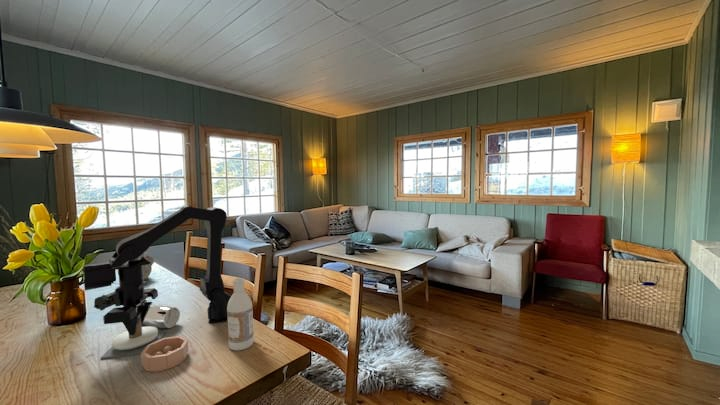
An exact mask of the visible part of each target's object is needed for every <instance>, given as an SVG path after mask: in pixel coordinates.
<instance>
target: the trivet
mask: <svg viewBox="0 0 720 405" xmlns="http://www.w3.org/2000/svg"><path fill="white" fill-rule="evenodd" d="M166 334H167V330H161V331H159V330H158V335H157V337H156V338H155V339H154V340H152V341H151V342H149V343H147V344H144V345H142V346H139V347H136V348H132V349H126V350H117V349H114V348H113V347H112V346H111V347H110V348H109V349H108V350H107V351H106V352H105V353H104V354H103V355H102V356H100V360H106V359H113V358H114V359H115V358H121V357H122V358H123V357H129V356H137V355H139V356H140V355H141V352H142V351H143V350H144V349H145V348H146V347H147V345H149V344H151V343H153V342H156V341H158V340H160V339H163V338H164V336H165V335H166Z"/></svg>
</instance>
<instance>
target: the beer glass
mask: <svg viewBox="0 0 720 405" xmlns="http://www.w3.org/2000/svg"><path fill="white" fill-rule="evenodd" d="M180 317H181V311H180V309H179V308H178V307H177V306H176V307H175V306H171V305H170V306H169V305H156V306H155V305H154V306H150V308H149V310H148V312H147V315H146V317H145V319H144V322H143V324H142V325H145V326H151V327H156V328H157V329H171V328H174V327H175V326H177V324H178V322H179V320H180Z"/></svg>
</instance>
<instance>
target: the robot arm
mask: <svg viewBox="0 0 720 405" xmlns="http://www.w3.org/2000/svg"><path fill="white" fill-rule="evenodd" d="M227 218H228V216H227V212H226V211H225V210H224V209H222V208H220V207H214V206H212V207H208V208H202V207H200V208H199V207H194V206H190V205H184V206H182V207H181V208H179V210H176V211H175V212H174V213H171V214H169V216H167V217H165V218H164V219H162V220H161V221H158V222H157V223H156V224H154V225H152V226H151V227H149V228H148V229H146V230H143V231H141V232H138V233H135V234H132V235H131V236H128V237H126V238H123V239H121V240H120V241H118V242H117V244H116V246H115V252H114V253H113V254H112V256H110V258H109V260H108V262H101V263H95V264H94V263H93V264H91V263H90V264H84V265H83V271H84V272H83V273H84V275H83V284H84V285H83V286H84V291H85V292H86V291H89V290H95V289H100V288H106V287H109V286H110V287H111V286H112V284H114V283H115V282H117V275H116V274H118V273H119V275H118V283H119V284H118V285H119V286H118V287H116V288H115V290H114V291H112V292H110V293H107V294H103V295H100V296H97V297H96V298H94V302H93V307H94V308H96V310H99V311H104V310H106V309H107V308H110V307H112V306H114V305H115V307H113V308H112V309H110V310H109V311H108V312H107V313H106V314H104V315H103V318H102V320H103V324H104V325H108V324H119V323H122V324H123V325H124V327H125V330H126V331H128V332H129V334H130V335H134V334H135V332H136V329H137V326H138V322H139V319H140V317H141V325H142V326H143V325H144V324H143V322H144V319H145V317H146V315H147V312H148V310H149V308H150V307H152V306H151V305H152V304H153V301H148V300H147V298H151V299H152V300H155V299H157V298H158V297H159V293H158V292H159V290H158V289H157V288H154V287H153V288H145V287H146V286H147V284H148V282H147V281H146V280H144V279H143V265H147V264H150V261H149V260H147V259H145V258H144V256H141V255H142V254H143V253H144V252H145V253H146V252H147V251H148V250H149V249H150V248H151V246H152V245H153V244H154V243H155V242H156V241H158V240H159V239H161V238H162V237H164V236H165V235H168V234H169V233H170V232H172V231H173V230H175V229H176V228H178V227H179V226H181V225H183V224H184V223H186V222H188V221H189V220H190V219H193V220H198V221H199V220H200V221H203V222H204V227H205V231H206V233H207V235H206V236H207V238H206V240H207V242H206V243H207V244H206V273H205V276H204V278H199V283H200V287H199V291H200V292H201V294H202V295H203V296H204V297H205V298H206V299H207V300H208V301H210V302H209V304H208V307H207V319H208V324H213V323H214V324H215V323H221V322H228V319H227V306H228V302H229V300H230V298H231V296H232V295H230V294H229V293H227V292H226V290H225V285H224V281H223V277H222V273H221V266H222V265H221V264H222V235H223V234H222V233H223V232H224V229H225V227H226V222H227ZM140 256H141V257H140ZM138 257H140V258H139V259H137V258H138ZM135 259H137V260H135ZM130 260H131V261H130ZM126 262H127V264H125V263H126ZM116 270H117V273H116Z"/></svg>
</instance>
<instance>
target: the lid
mask: <svg viewBox="0 0 720 405" xmlns="http://www.w3.org/2000/svg"><path fill="white" fill-rule="evenodd" d="M158 332H159V328H156V327H151V326H148V325H145V326H143V324H142V325H141V317H140V319H139V322H138V326H137V329H136V332H135V334H134V335H130V334H129V332H128V331H127V330H126V331H124V332H121V333H120V334H118V335H117V336H115V337H113V339H112V340H111V347H113V348H114V349H117V350H126V349H132V348H136V347H139V346H142V345H144V344H147V343H149V342H151V341H152V340H154V339H155V338H156V337H157V335H158Z"/></svg>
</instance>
